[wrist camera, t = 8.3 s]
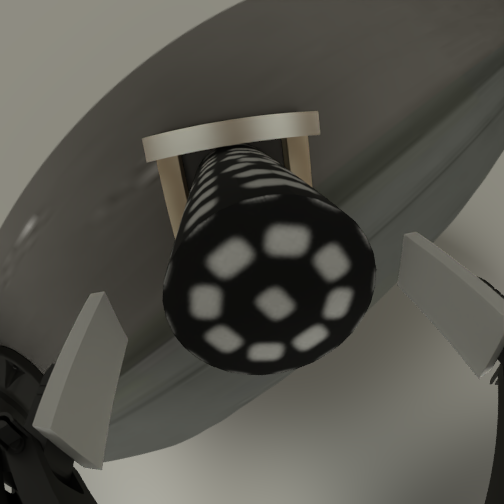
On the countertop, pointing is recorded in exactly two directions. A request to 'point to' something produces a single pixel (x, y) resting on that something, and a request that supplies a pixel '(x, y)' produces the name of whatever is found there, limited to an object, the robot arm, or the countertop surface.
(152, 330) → the countertop surface
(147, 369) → the countertop surface
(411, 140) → the countertop surface
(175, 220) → the guide channel
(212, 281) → the white-spotted black cylinder
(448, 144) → the countertop surface
